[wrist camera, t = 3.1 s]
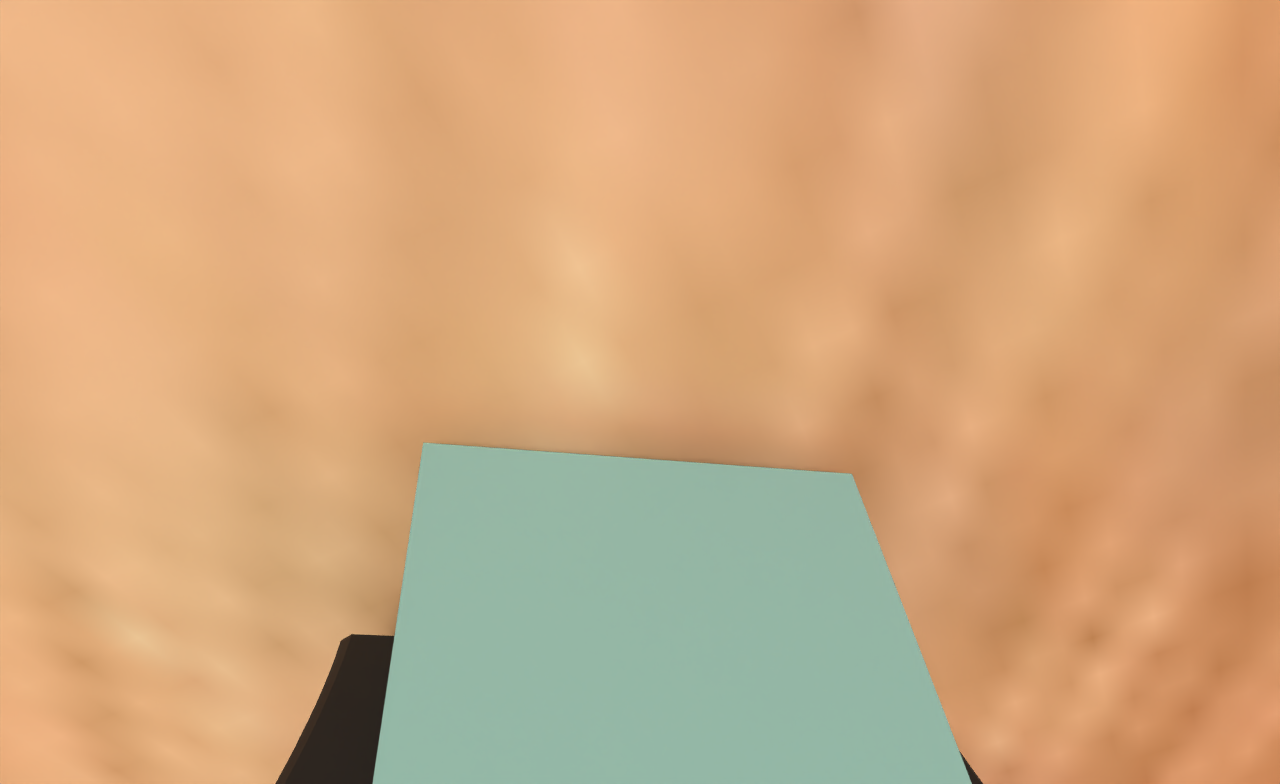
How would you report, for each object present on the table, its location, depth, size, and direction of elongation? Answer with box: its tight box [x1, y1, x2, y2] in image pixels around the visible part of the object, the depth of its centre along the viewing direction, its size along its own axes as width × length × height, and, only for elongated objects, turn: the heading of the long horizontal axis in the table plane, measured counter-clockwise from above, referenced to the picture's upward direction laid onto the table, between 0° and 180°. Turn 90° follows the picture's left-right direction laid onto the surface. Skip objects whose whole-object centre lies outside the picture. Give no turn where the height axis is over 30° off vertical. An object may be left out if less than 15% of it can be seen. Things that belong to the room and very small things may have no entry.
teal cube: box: [373, 443, 972, 784], centre depth 11 cm, size 5×5×5 cm
